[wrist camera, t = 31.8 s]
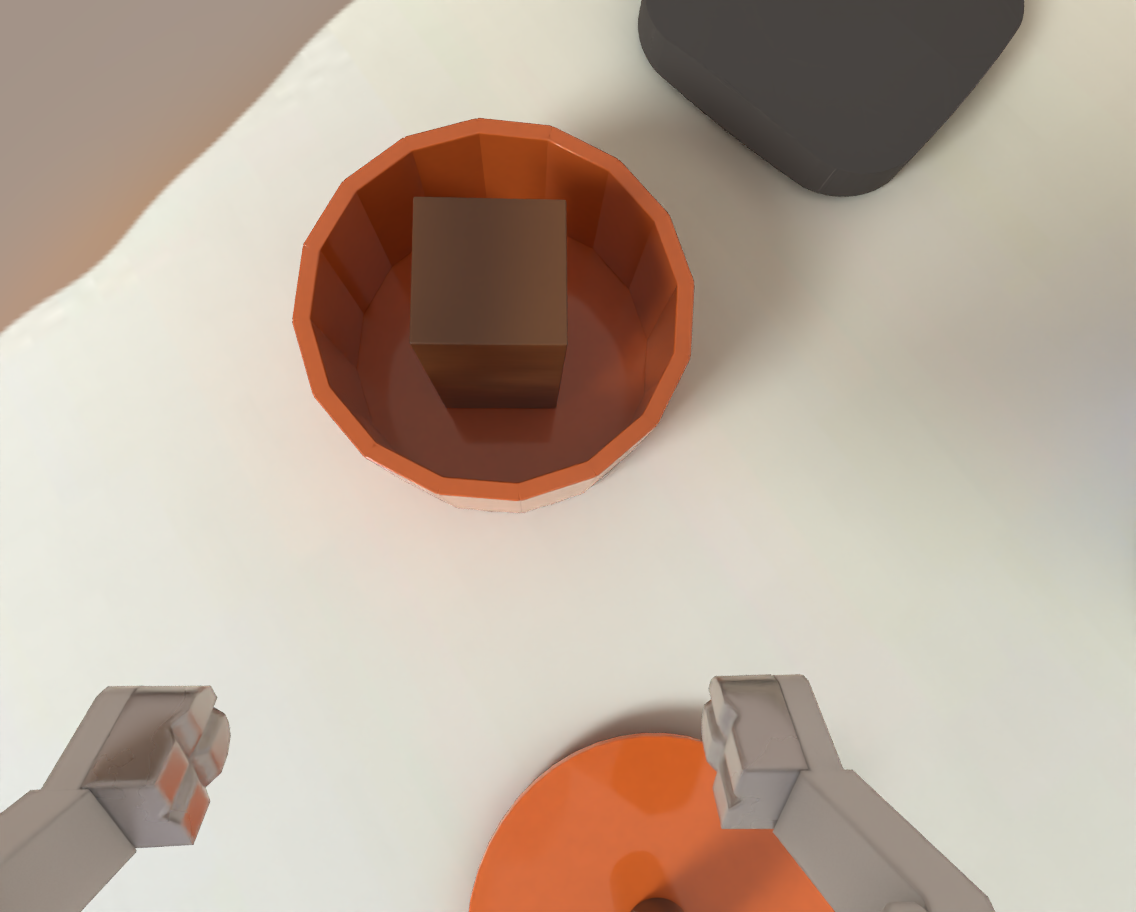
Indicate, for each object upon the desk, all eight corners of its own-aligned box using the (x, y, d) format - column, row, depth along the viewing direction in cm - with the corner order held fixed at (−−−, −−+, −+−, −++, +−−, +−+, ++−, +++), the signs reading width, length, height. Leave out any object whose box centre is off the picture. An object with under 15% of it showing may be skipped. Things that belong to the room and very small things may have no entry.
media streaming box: (602, 40, 31) (610, -15, 28) (786, -153, 33) (811, -222, 30) (849, 234, 30) (883, 200, 27) (1020, 24, 33) (1069, -29, 30)
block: (555, 303, 29) (566, 199, 20) (556, 408, 28) (567, 345, 20) (447, 302, 28) (413, 195, 20) (445, 408, 28) (408, 343, 19)
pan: (600, 181, 30) (620, 79, 24) (699, 456, 28) (748, 427, 22) (312, 260, 29) (250, 175, 22) (398, 554, 27) (357, 553, 21)
